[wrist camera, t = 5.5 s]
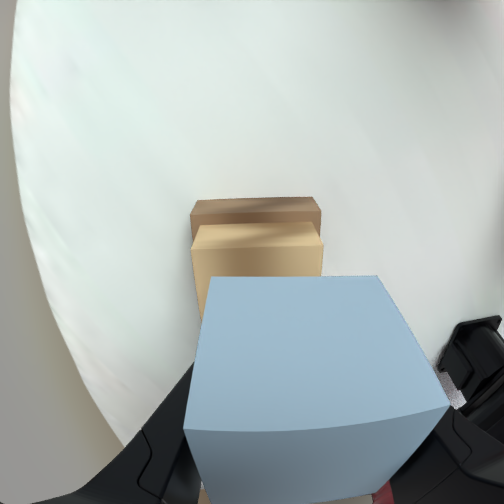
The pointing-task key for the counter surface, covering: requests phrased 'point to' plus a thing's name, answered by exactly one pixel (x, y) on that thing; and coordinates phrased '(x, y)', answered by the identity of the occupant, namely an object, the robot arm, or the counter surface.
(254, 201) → the tower base
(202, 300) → the tower mid
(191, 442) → the block
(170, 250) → the counter surface
